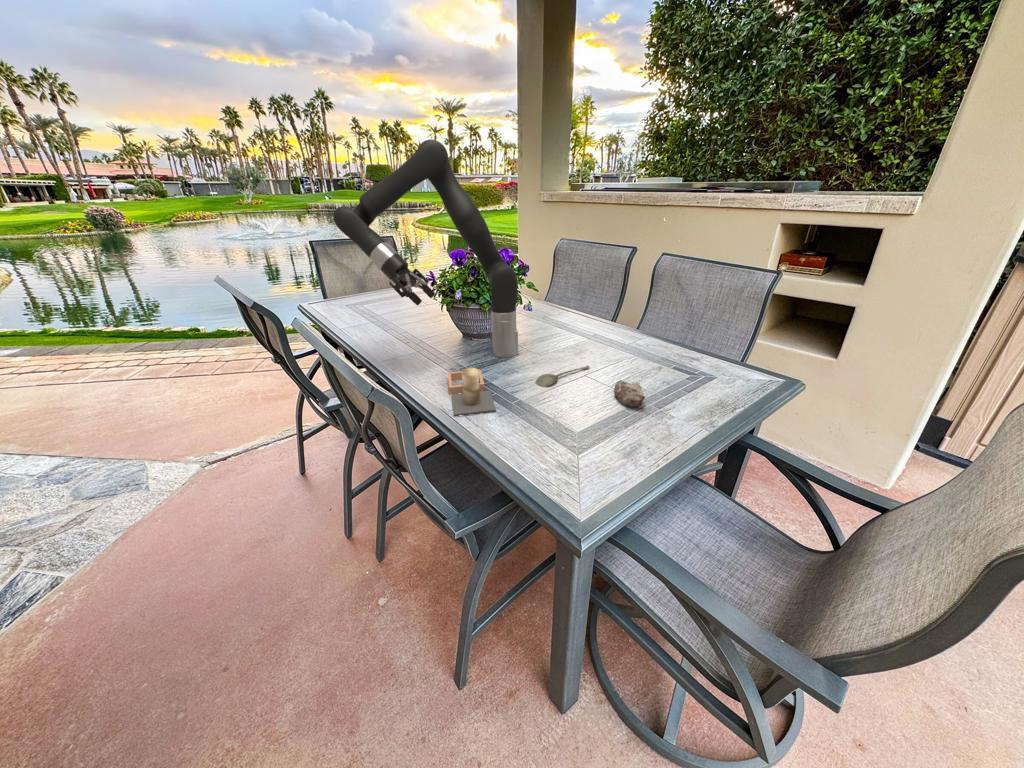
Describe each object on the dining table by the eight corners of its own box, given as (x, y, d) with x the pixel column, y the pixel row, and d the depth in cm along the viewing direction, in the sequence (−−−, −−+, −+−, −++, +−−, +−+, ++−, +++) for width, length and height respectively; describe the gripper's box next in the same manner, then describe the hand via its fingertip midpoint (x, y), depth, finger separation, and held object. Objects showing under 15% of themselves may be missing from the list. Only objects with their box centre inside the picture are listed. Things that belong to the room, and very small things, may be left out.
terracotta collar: (480, 375, 134) (480, 369, 133) (484, 390, 125) (484, 383, 124) (448, 379, 133) (447, 372, 132) (449, 394, 123) (449, 387, 122)
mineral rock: (612, 386, 125) (613, 374, 123) (637, 387, 124) (639, 375, 122) (615, 411, 113) (617, 397, 111) (644, 412, 111) (646, 399, 109)
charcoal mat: (490, 392, 124) (490, 390, 123) (495, 411, 113) (495, 409, 113) (451, 396, 122) (451, 394, 121) (454, 416, 111) (453, 414, 111)
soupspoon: (531, 384, 130) (542, 393, 126) (531, 375, 129) (543, 384, 124) (582, 366, 140) (594, 373, 135) (582, 357, 138) (595, 364, 134)
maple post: (479, 397, 120) (477, 366, 115) (481, 404, 115) (479, 373, 111) (463, 398, 119) (460, 368, 114) (465, 406, 115) (462, 375, 110)
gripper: (381, 256, 114) (421, 297, 116) (407, 248, 126) (443, 286, 128) (369, 274, 118) (408, 314, 120) (395, 265, 130) (431, 301, 132)
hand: (426, 299), depth 124 cm, fingers open, 8 cm apart
